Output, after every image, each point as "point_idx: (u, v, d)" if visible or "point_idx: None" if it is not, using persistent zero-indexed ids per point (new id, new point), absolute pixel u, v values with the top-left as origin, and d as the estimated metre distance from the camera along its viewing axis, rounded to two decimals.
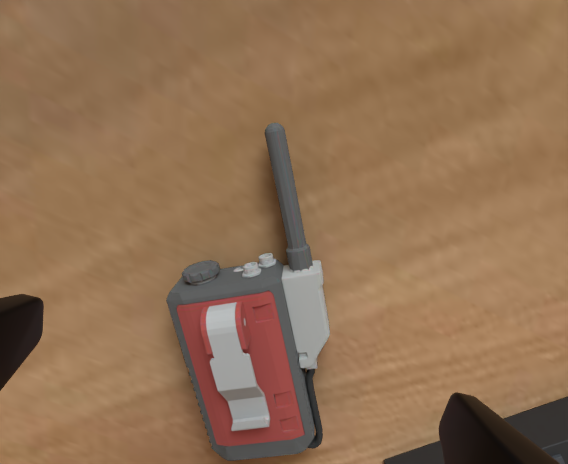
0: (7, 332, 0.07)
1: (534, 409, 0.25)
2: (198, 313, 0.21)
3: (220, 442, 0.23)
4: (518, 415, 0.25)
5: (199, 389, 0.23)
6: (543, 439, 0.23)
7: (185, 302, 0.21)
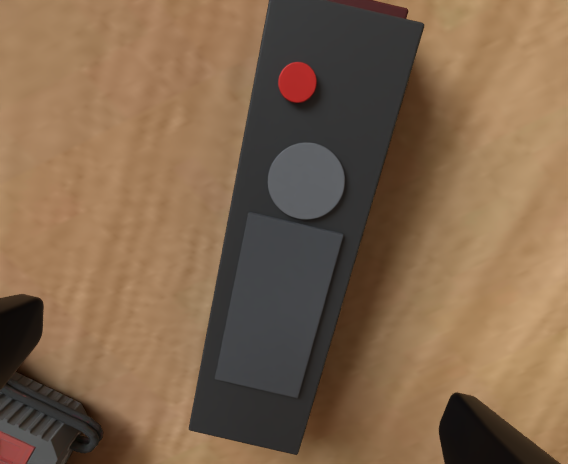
0: (7, 332, 0.07)
1: None
2: None
3: None
4: None
5: None
6: None
7: None
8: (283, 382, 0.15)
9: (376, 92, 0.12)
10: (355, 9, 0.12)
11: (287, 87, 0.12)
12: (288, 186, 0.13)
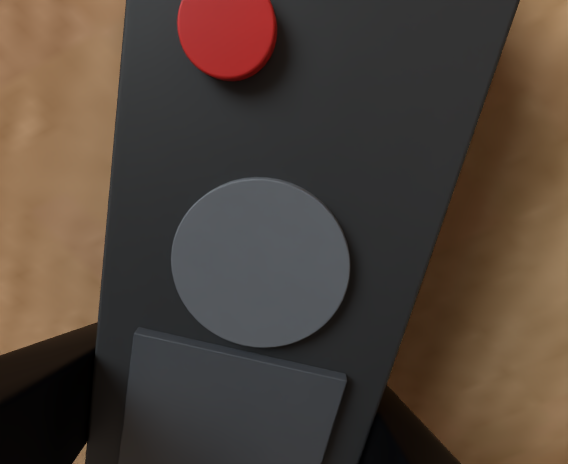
0: None
1: None
2: None
3: None
4: None
5: None
6: None
7: None
8: None
9: (430, 54, 0.05)
10: None
11: (201, 39, 0.05)
12: (219, 278, 0.06)
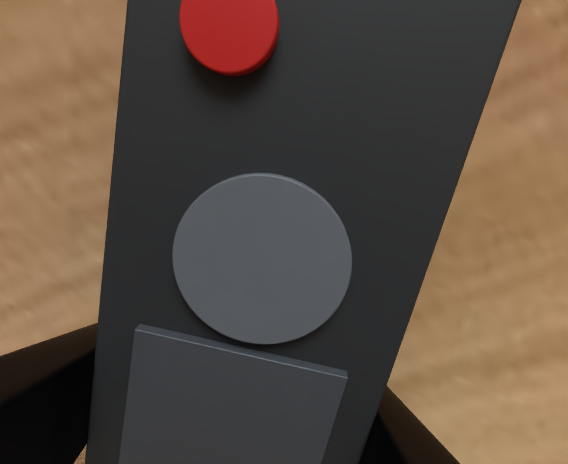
0: None
1: None
2: None
3: None
4: None
5: None
6: None
7: None
8: None
9: (433, 49, 0.05)
10: None
11: (203, 34, 0.05)
12: (220, 274, 0.06)
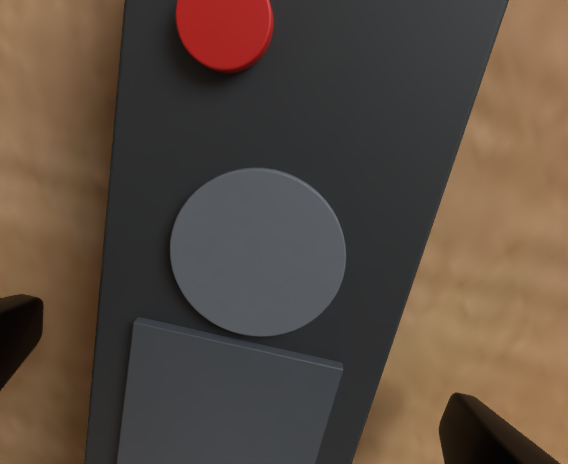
0: (7, 332, 0.07)
1: None
2: None
3: None
4: None
5: None
6: None
7: None
8: None
9: (423, 46, 0.05)
10: None
11: (198, 31, 0.05)
12: (217, 267, 0.06)
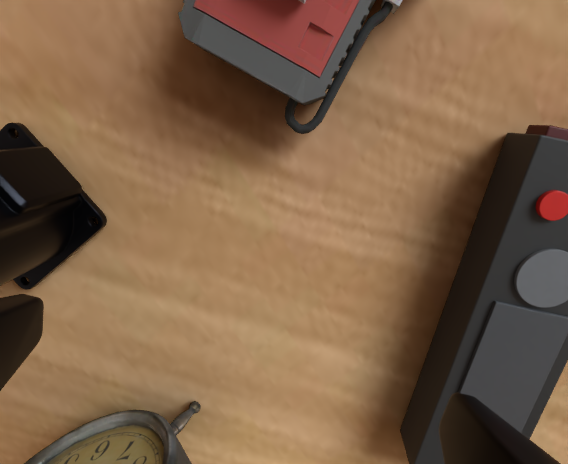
0: (7, 332, 0.07)
1: (460, 267, 0.19)
2: None
3: (201, 4, 0.14)
4: (452, 288, 0.20)
5: None
6: (470, 299, 0.18)
7: None
8: None
9: None
10: None
11: (546, 209, 0.15)
12: (533, 282, 0.16)
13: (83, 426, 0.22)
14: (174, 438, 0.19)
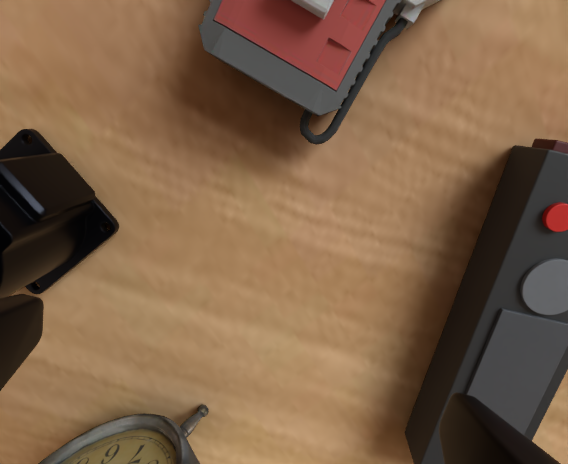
0: (7, 332, 0.07)
1: (465, 275, 0.20)
2: None
3: (222, 18, 0.15)
4: (457, 294, 0.20)
5: None
6: (477, 306, 0.18)
7: None
8: None
9: None
10: None
11: (552, 221, 0.16)
12: (538, 291, 0.17)
13: (92, 430, 0.22)
14: (186, 442, 0.19)
